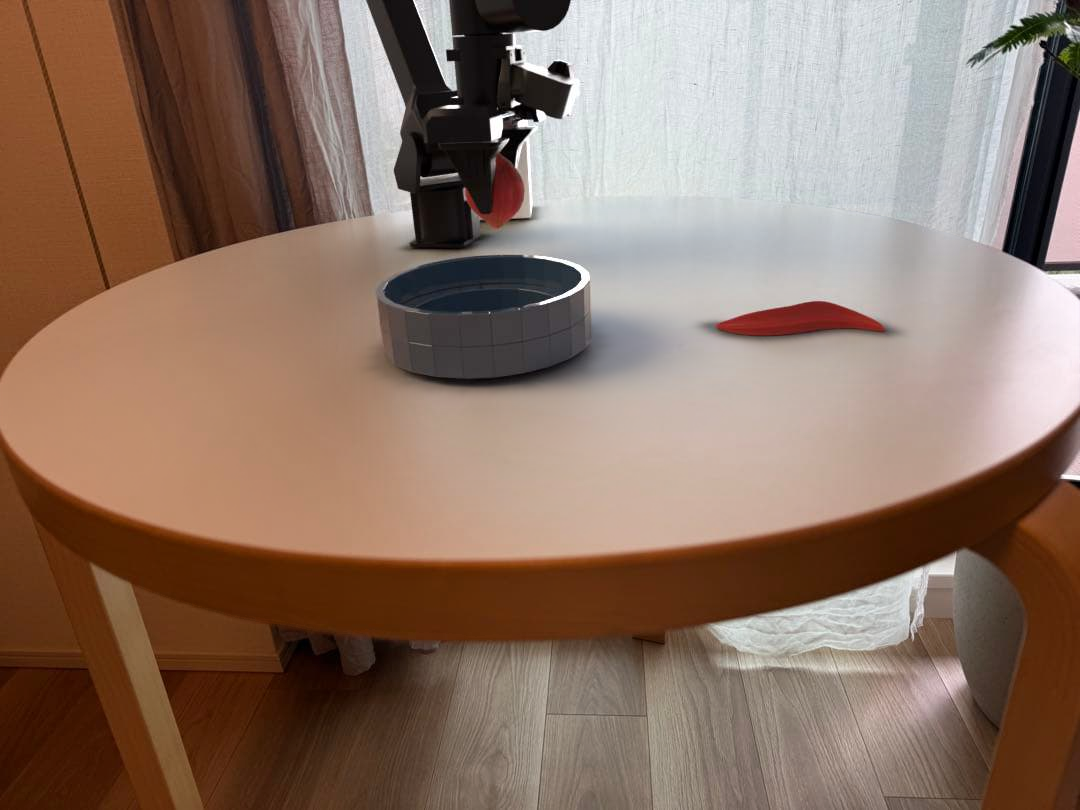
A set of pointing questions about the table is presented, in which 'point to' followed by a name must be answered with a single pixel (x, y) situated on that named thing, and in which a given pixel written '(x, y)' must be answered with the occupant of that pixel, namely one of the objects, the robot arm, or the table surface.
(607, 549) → the table surface
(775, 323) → the cayenne pepper
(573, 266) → the bowl
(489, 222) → the onion
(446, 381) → the table surface
